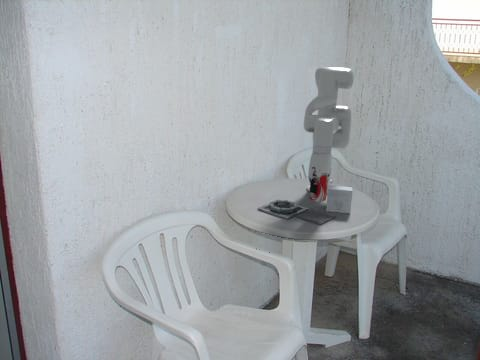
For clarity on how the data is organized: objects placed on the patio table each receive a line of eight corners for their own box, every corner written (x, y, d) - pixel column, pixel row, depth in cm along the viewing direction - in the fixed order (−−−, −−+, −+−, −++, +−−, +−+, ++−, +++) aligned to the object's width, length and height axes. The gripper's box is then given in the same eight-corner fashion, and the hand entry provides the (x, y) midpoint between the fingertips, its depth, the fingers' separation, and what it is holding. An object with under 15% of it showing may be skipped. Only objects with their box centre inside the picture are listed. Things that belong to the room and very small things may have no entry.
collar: (279, 201, 213) (279, 196, 212) (308, 210, 203) (309, 204, 202) (257, 209, 202) (257, 204, 201) (287, 219, 192) (287, 214, 191)
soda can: (325, 204, 189) (328, 175, 185) (308, 202, 190) (310, 174, 186) (326, 198, 195) (328, 171, 192) (309, 197, 197) (311, 169, 193)
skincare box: (349, 208, 207) (352, 186, 204) (350, 214, 201) (352, 191, 198) (326, 206, 209) (328, 184, 206) (325, 211, 203) (328, 188, 200)
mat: (311, 210, 203) (311, 209, 203) (335, 217, 196) (335, 216, 195) (296, 217, 194) (296, 215, 194) (320, 225, 187) (320, 223, 187)
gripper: (325, 144, 195) (321, 184, 200) (302, 150, 182) (298, 193, 187) (341, 147, 190) (336, 188, 195) (318, 154, 178) (314, 197, 183)
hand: (318, 190), depth 191 cm, fingers closed on soda can, 6 cm apart
